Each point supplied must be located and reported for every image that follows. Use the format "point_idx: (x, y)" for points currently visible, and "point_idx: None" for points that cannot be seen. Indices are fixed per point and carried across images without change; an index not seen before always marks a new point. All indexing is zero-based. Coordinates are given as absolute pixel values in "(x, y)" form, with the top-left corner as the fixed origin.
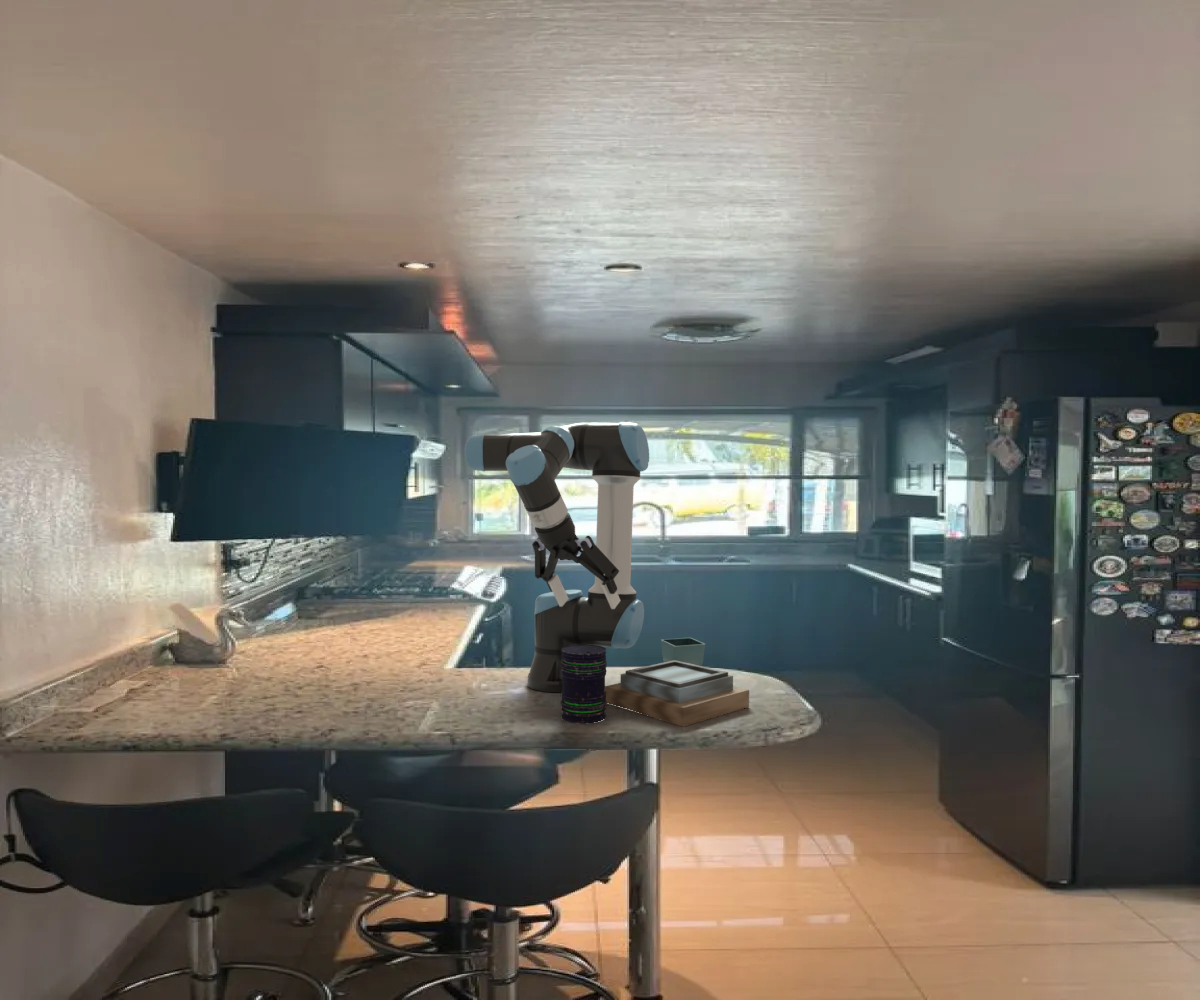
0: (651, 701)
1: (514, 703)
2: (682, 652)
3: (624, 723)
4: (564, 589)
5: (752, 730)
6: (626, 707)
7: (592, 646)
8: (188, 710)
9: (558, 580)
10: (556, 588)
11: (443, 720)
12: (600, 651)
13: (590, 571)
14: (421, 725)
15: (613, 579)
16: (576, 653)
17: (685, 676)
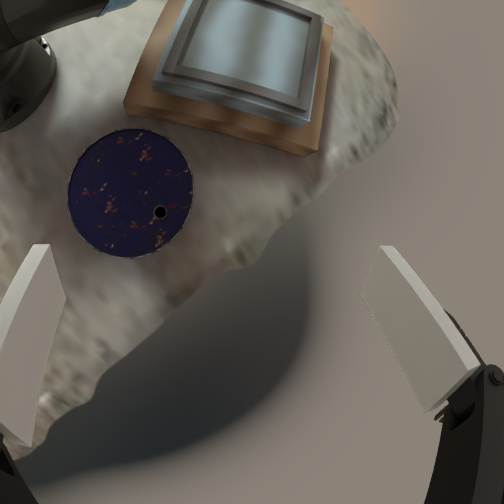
0: (245, 129)
1: (5, 215)
2: None
3: (220, 192)
4: (25, 289)
5: (373, 129)
6: (179, 122)
7: (123, 139)
8: None
9: (3, 373)
10: (31, 375)
11: None
12: (180, 179)
13: (430, 490)
14: None
15: (479, 357)
16: (140, 245)
17: (268, 41)
